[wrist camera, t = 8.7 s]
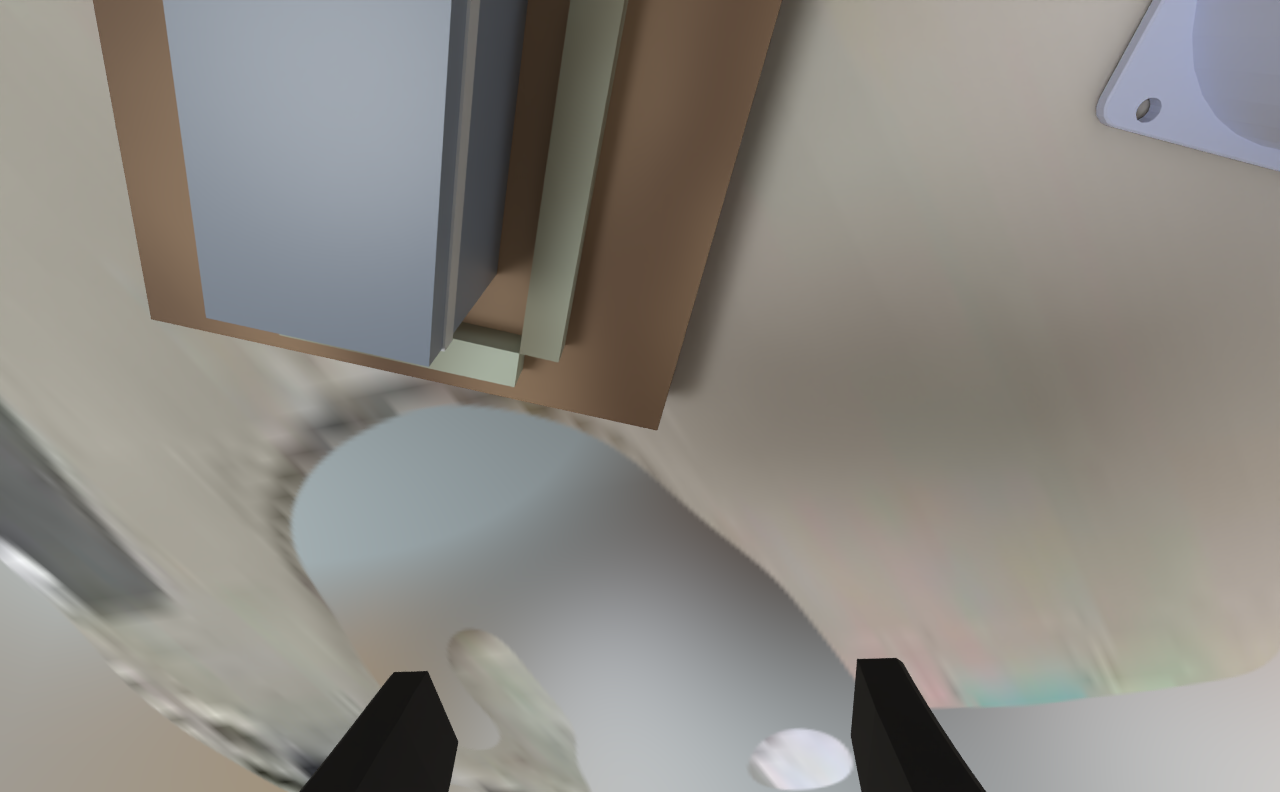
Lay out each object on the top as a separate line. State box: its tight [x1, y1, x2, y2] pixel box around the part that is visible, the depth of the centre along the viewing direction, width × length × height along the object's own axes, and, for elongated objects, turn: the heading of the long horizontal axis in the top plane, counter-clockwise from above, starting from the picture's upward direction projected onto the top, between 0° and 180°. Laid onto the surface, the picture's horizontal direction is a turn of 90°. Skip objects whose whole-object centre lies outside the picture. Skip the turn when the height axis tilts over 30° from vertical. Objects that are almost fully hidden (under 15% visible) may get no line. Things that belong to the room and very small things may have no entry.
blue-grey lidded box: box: [163, 0, 528, 367], centre depth 12 cm, size 4×8×5 cm, turn 168°
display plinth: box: [93, 0, 782, 430], centre depth 15 cm, size 14×14×3 cm
